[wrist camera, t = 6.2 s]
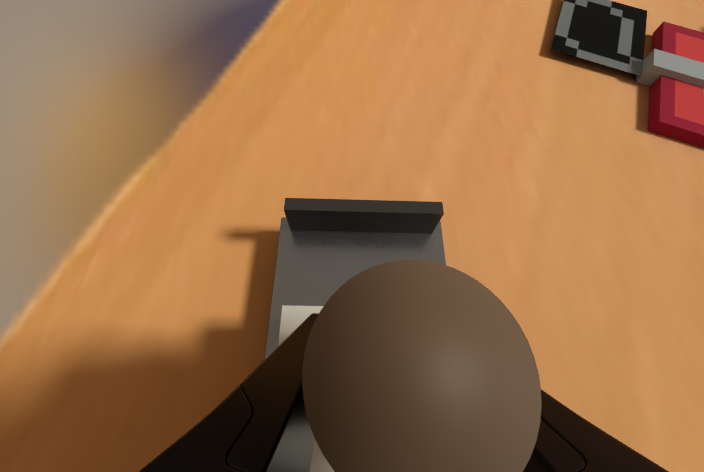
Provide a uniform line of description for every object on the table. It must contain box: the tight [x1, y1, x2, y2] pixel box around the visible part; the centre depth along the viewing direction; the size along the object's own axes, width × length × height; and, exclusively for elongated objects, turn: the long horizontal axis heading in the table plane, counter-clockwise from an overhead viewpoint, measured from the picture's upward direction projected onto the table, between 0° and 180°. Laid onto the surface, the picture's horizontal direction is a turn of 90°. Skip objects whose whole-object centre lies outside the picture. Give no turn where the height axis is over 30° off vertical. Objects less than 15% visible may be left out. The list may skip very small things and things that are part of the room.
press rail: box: [265, 198, 446, 359], centre depth 12 cm, size 18×8×4 cm, turn 179°
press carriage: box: [278, 260, 542, 472], centre depth 8 cm, size 5×6×10 cm
